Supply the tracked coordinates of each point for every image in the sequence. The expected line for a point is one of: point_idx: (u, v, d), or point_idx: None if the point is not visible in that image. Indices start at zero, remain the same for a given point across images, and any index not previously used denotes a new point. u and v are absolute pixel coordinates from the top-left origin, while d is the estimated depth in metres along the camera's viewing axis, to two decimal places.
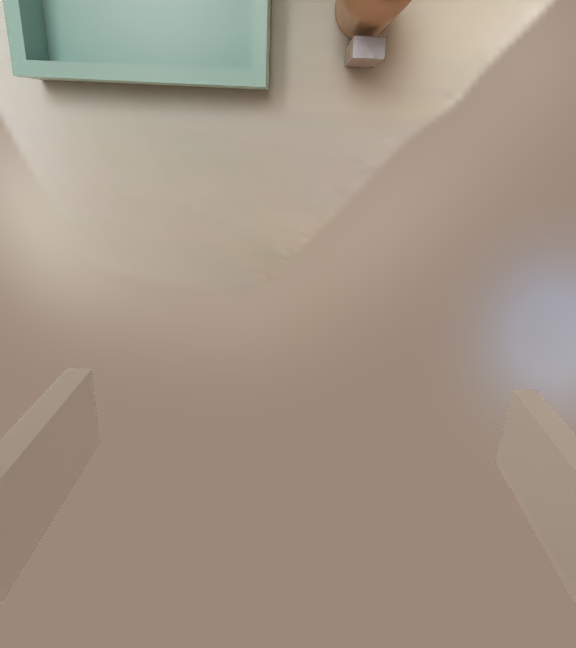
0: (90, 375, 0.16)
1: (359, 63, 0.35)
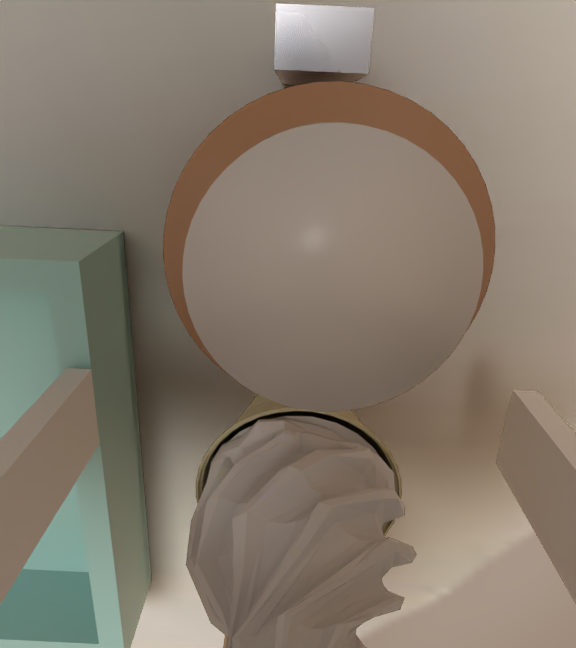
0: (90, 375, 0.16)
1: None
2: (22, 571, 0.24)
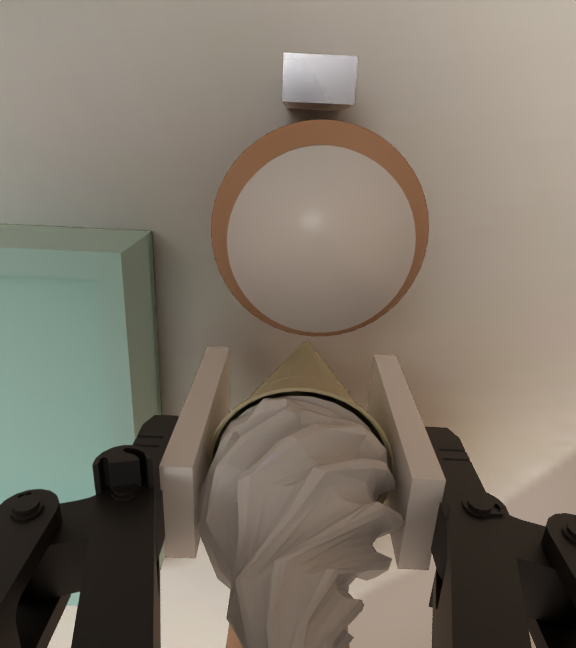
0: (228, 353, 0.17)
1: None
2: None
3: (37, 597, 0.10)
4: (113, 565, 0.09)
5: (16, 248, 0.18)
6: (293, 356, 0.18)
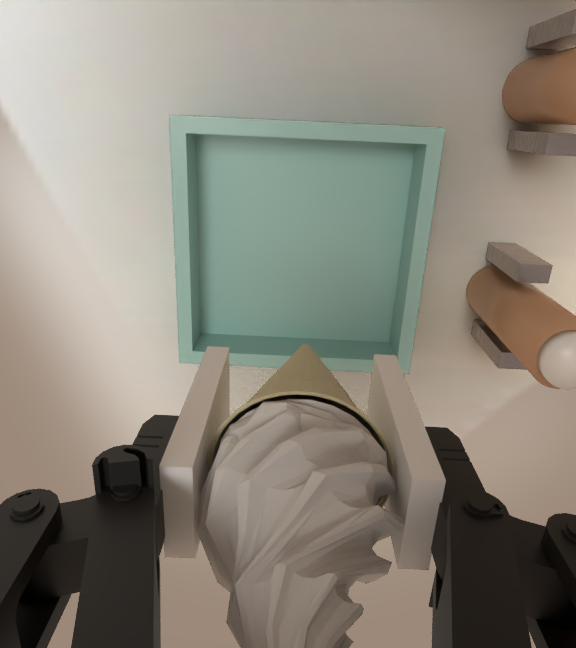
0: (228, 352, 0.17)
1: None
2: (329, 340, 0.41)
3: (37, 597, 0.10)
4: (113, 565, 0.09)
5: (386, 125, 0.31)
6: (293, 358, 0.18)
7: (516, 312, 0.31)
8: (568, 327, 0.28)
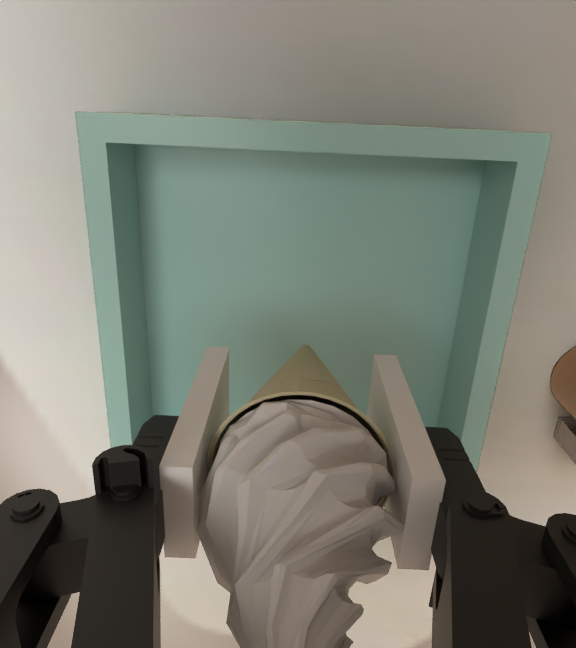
0: (228, 353, 0.17)
1: None
2: None
3: (37, 597, 0.10)
4: (113, 565, 0.09)
5: (449, 129, 0.18)
6: (293, 359, 0.18)
7: None
8: None
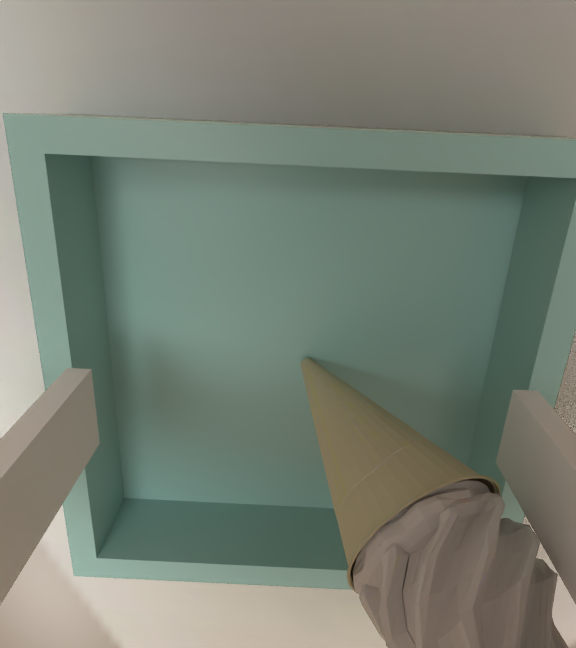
0: (90, 375, 0.16)
1: None
2: None
3: None
4: None
5: (492, 137, 0.14)
6: (333, 397, 0.17)
7: None
8: None
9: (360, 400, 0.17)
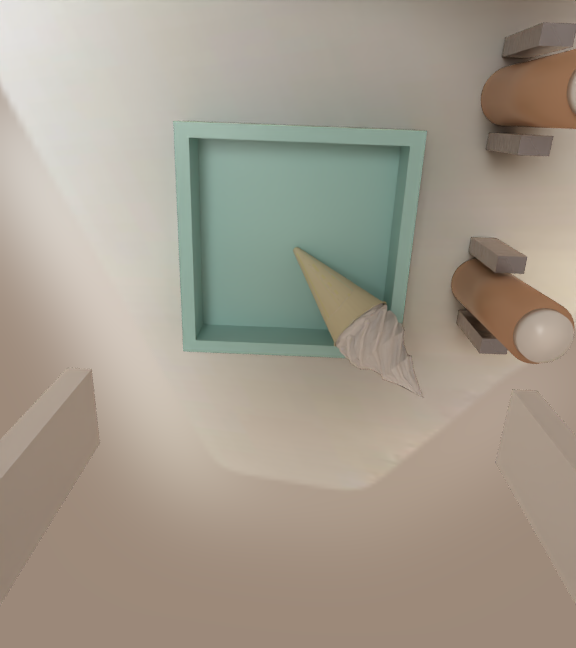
0: (90, 375, 0.16)
1: None
2: (324, 329, 0.43)
3: None
4: None
5: (372, 129, 0.34)
6: (315, 272, 0.39)
7: (492, 298, 0.34)
8: (537, 305, 0.30)
9: (327, 273, 0.38)
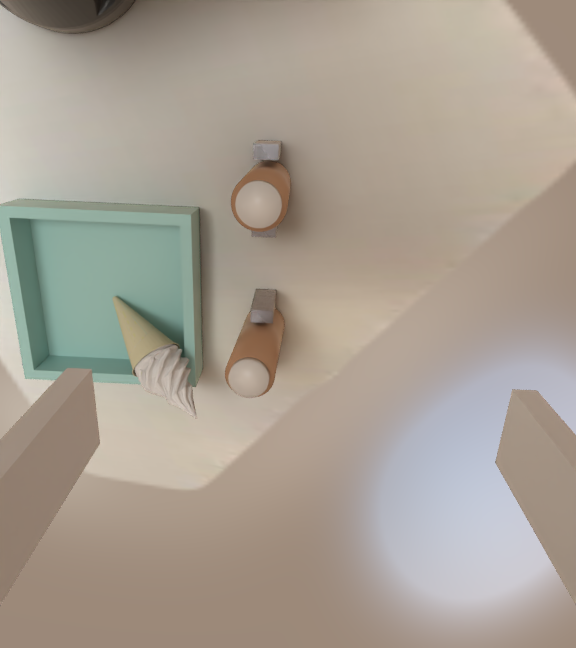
0: (90, 375, 0.16)
1: None
2: None
3: None
4: None
5: (149, 213, 0.45)
6: (123, 318, 0.49)
7: None
8: (242, 356, 0.41)
9: (131, 319, 0.49)
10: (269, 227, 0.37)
